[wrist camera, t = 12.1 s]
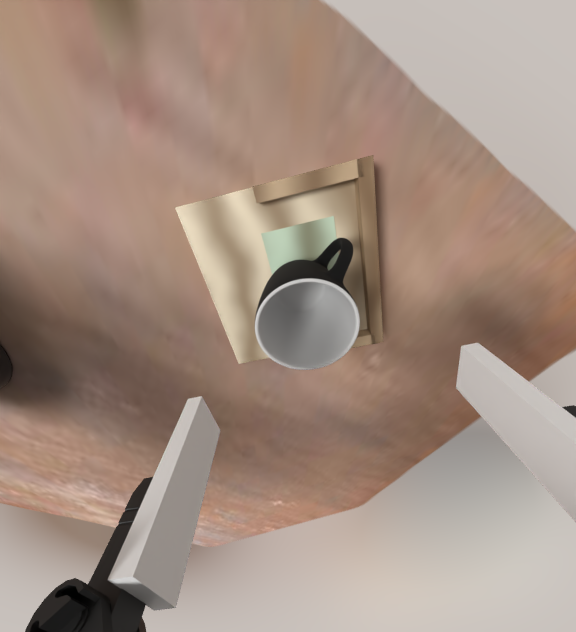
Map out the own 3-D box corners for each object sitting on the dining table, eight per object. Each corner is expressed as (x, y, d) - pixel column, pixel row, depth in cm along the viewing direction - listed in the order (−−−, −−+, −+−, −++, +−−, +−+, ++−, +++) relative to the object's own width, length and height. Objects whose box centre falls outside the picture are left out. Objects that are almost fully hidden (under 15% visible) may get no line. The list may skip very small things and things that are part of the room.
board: (240, 355, 36) (237, 370, 33) (182, 206, 27) (169, 208, 24) (374, 328, 35) (383, 341, 32) (361, 159, 25) (373, 155, 22)
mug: (309, 330, 32) (321, 384, 23) (249, 298, 30) (235, 345, 21) (367, 252, 28) (409, 281, 19) (301, 207, 25) (312, 217, 16)
